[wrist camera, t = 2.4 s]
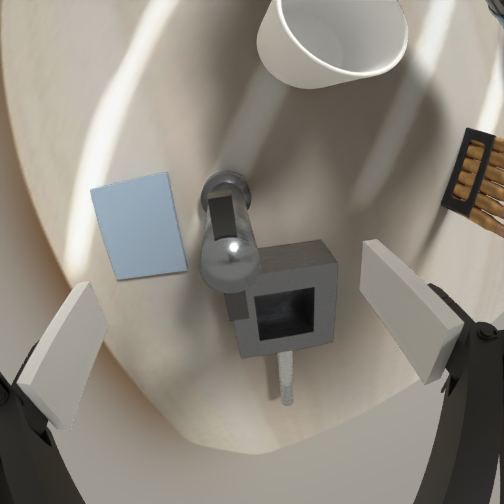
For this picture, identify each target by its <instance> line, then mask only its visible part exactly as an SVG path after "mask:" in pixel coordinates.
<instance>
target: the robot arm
mask: <svg viewBox="0 0 504 504" xmlns="http://www.w3.org/2000/svg"><path fill="white" fill-rule="evenodd" d="M486 2H487V3H488V7H489V10H490V12H491V13H492V14H493V15H494V16H495V17H496V18H497V19H498V21H499V22H500V24H501V25H502V27H503V29H504V0H486ZM359 290H360V292H361V293H362V295H363V296H364V297H365V299H366V300H367V301H368V303H369V304H370V306H371V307H372V308H373V310H374V311H375V312H376V314H377V315H378V317H379V318H380V320H381V321H382V322H383V324H384V325H385V327H386V328H387V329H388V331H389V332H390V334H391V335H392V337H393V338H394V340H395V341H396V343H397V344H398V345H399V347H400V348H401V350H402V351H403V353H404V354H405V356H406V357H407V359H408V360H409V362H410V363H411V365H412V366H413V368H414V370H415V371H416V373H417V374H418V376H419V377H420V379H421V380H422V382H423V383H424V385H426V384H429V383H431V382H433V381H436V380H438V379H440V378H441V376H442V373H443V372H444V369H445V368H446V369H447V370H448V372H449V373H450V374H449V376H448V378H447V380H446V382H445V384H444V386H443V388H442V390H441V393H443V392H444V390H445V388H446V390H445V396H444V401H443V406H442V411H441V416H440V421H439V425H438V429H437V433H436V437H435V441H434V445H433V448H432V452H431V455H430V458H429V462H428V465H427V468H426V471H425V474H424V477H423V480H422V483H421V485H420V488H419V491H418V493H417V496H416V499H415V501H414V503H413V504H489V502H490V498H491V493H492V489H493V485H494V480H495V475H496V470H497V464H498V457H500V504H504V330H499V331H498V330H497V329H496V328H495V327H494V326H492V325H491V324H489V323H486V322H477V323H475V322H474V321H473V320H472V319H471V318H470V317H469V316H468V314H467V313H466V312H465V311H464V310H463V309H462V308H461V307H460V306H459V305H458V304H457V303H455V301H454V300H452V299H451V298H450V297H449V296H448V295H447V294H446V293H445V292H444V291H443V290H442V289H441V288H439V287H437V286H435V285H433V284H431V283H430V284H426V283H425V282H424V281H423V280H422V279H420V278H419V277H418V276H417V275H416V274H415V273H414V272H413V271H412V270H411V269H410V268H409V267H408V266H407V265H405V264H404V263H403V262H402V261H401V260H400V259H399V258H398V257H397V256H396V255H394V254H393V253H392V252H391V251H390V250H389V249H388V248H387V247H385V246H384V245H383V244H382V243H381V242H380V241H379V240H377V239H374V240H367V241H363V250H362V264H361V276H360V287H359ZM108 327H109V325H108V323H107V321H106V318H105V316H104V314H103V312H102V309H101V307H100V305H99V303H98V300H97V298H96V295H95V293H94V291H93V288H92V286H91V283H90V281H87V282H80V283H77V284H76V286H75V287H74V288H73V290H72V291H71V293H70V294H69V296H68V297H67V299H66V300H65V302H64V303H63V305H62V306H61V308H60V309H59V311H58V312H57V314H56V315H55V317H54V318H53V320H52V322H51V323H50V325H49V326H48V328H47V329H46V331H45V333H44V334H43V336H42V338H41V339H40V340H39V341H38V342H37V343H36V344H35V345H34V346H33V347H32V349H31V350H30V352H29V354H28V357H26V359H25V361H24V364H22V366H21V368H20V370H19V372H18V373H17V375H16V377H15V379H14V381H13V383H12V385H11V386H10V384H9V383H8V382H7V380H6V379H5V378H4V376H3V375H2V374H1V372H0V504H85V502H84V500H83V498H82V497H81V495H80V493H79V491H78V489H77V488H76V486H75V484H74V482H73V480H72V479H71V476H70V474H69V472H68V470H67V468H66V466H65V464H64V462H63V459H62V457H61V455H60V453H59V450H58V448H57V446H56V443H55V441H54V438H53V436H52V433H51V431H50V430H49V428H48V427H47V423H48V420H49V421H50V422H51V423H52V424H53V425H54V427H56V429H61V430H67V431H71V429H72V426H73V422H74V419H75V416H76V413H77V410H78V407H79V404H80V401H81V398H82V395H83V392H84V389H85V386H86V383H87V380H88V378H89V375H90V372H91V369H92V367H93V364H94V361H95V359H96V356H97V353H98V351H99V349H100V346H101V344H102V341H103V339H104V336H105V334H106V332H107V329H108Z"/></svg>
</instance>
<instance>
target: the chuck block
mask: <svg viewBox="0 0 504 504" xmlns="http://www.w3.org/2000/svg"><path fill="white" fill-rule="evenodd" d="M258 253H259V257H260V261H261V272H260V275H259V277H258V279H257V280H256V282H255V283H254V284H253V285H252V286H251V287H249V288H248V289H246V290H245V292H246V298H247V305H248V312H249V319H242V320H235V321H234V326H235V331H236V336H237V341H238V346H239V351H240V356H241V358H248V357H255V356H262V355H268V354H275V353H277V357H278V370H279V383H280V397H281V403H282V404H283V405H285V406H289V405H291V404H292V403H293V351H292V350H298V349H303V348H308V347H313V346H318V345H323V344H328V343H333V333H334V321H335V307H336V292H337V271H338V262H337V260H336V259H335V258H334V256H333V255H332V254H331V252H330V251H329V250H328V248H327V247H326V246H325V244H324V243H323V242H322V240H316V241H309V242H302V243H294V244H287V245H280V246H273V247H266V248H259V249H258Z"/></svg>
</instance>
